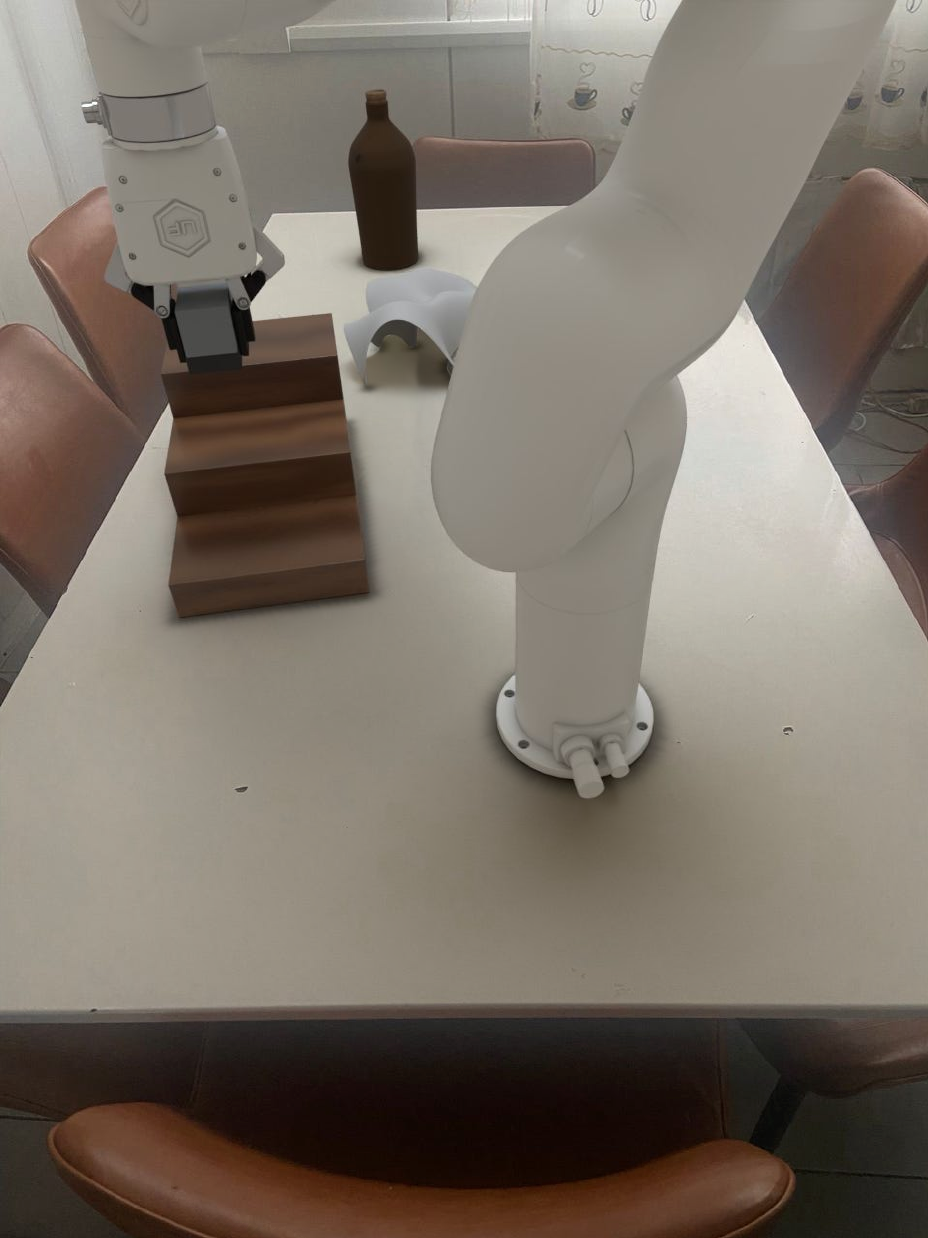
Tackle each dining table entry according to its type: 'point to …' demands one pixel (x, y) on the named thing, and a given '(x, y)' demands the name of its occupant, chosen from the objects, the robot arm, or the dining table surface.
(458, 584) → the dining table surface
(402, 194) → the olive oil
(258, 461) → the wooden step block
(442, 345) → the sculpture
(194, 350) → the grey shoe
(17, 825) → the dining table surface
